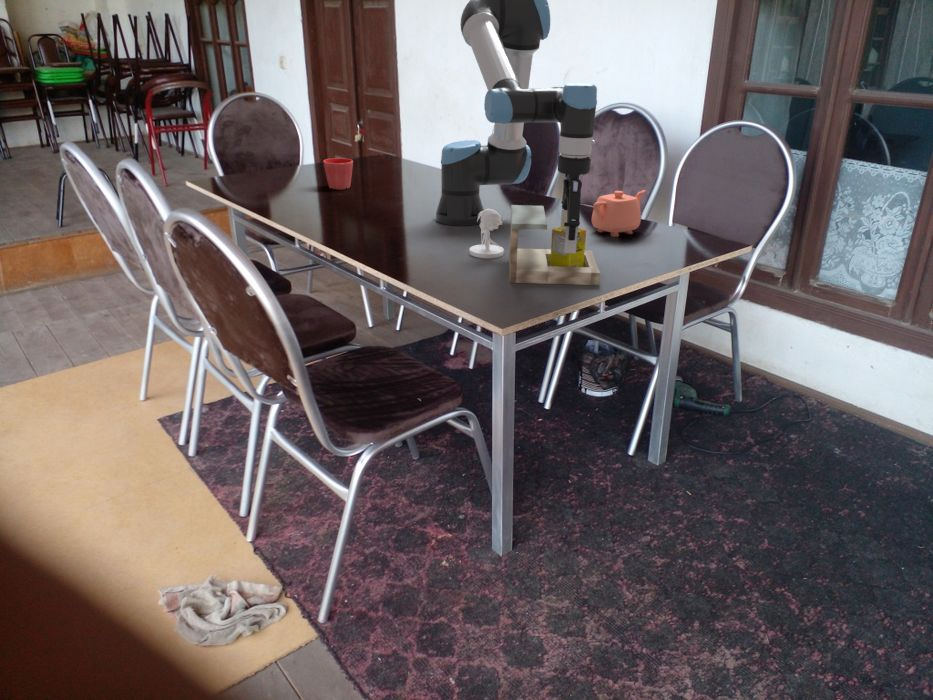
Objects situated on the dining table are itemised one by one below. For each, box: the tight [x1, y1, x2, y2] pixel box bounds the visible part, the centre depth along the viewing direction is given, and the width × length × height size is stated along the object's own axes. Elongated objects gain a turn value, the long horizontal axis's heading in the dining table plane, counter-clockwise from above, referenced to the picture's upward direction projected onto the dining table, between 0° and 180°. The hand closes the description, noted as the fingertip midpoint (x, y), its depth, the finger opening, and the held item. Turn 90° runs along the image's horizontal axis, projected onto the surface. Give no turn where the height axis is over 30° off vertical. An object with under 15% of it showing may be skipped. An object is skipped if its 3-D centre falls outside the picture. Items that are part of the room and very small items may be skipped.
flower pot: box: [323, 157, 354, 190], centre depth 257 cm, size 11×11×10 cm
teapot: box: [591, 189, 647, 238], centre depth 206 cm, size 20×12×12 cm, turn 124°
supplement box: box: [549, 226, 587, 267], centre depth 171 cm, size 6×6×11 cm
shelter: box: [508, 204, 601, 286], centre depth 171 cm, size 21×18×14 cm
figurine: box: [468, 208, 505, 259], centre depth 184 cm, size 9×9×12 cm
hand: (567, 244), depth 171 cm, fingers open, 13 cm apart
